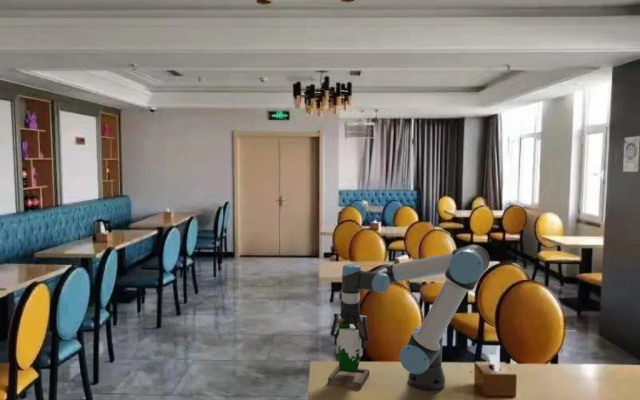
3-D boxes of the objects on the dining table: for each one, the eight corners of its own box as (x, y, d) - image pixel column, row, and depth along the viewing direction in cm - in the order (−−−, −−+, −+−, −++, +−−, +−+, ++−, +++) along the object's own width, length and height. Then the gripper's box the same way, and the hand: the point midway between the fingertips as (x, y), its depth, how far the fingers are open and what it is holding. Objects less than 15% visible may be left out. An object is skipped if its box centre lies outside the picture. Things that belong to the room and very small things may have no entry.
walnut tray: (369, 375, 227) (369, 369, 227) (360, 389, 214) (360, 383, 213) (338, 370, 231) (338, 365, 231) (327, 383, 218) (328, 377, 218)
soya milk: (340, 363, 227) (341, 318, 225) (361, 365, 226) (362, 320, 224) (336, 372, 219) (337, 325, 217) (358, 374, 217) (359, 326, 215)
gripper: (378, 301, 219) (377, 354, 221) (328, 296, 226) (327, 347, 229) (374, 306, 212) (372, 361, 214) (322, 300, 219) (322, 353, 222)
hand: (349, 353), depth 221 cm, fingers closed on soya milk, 9 cm apart
